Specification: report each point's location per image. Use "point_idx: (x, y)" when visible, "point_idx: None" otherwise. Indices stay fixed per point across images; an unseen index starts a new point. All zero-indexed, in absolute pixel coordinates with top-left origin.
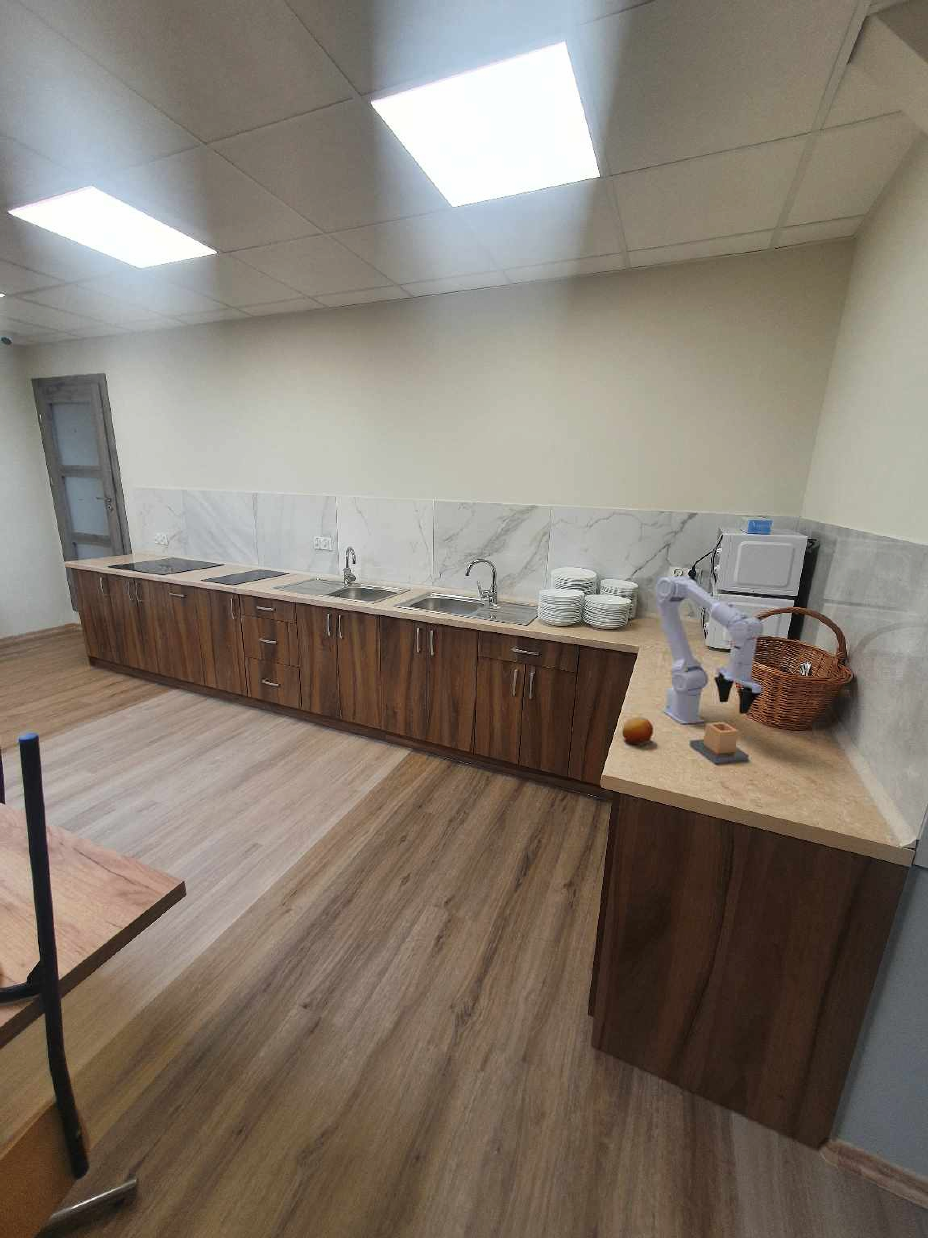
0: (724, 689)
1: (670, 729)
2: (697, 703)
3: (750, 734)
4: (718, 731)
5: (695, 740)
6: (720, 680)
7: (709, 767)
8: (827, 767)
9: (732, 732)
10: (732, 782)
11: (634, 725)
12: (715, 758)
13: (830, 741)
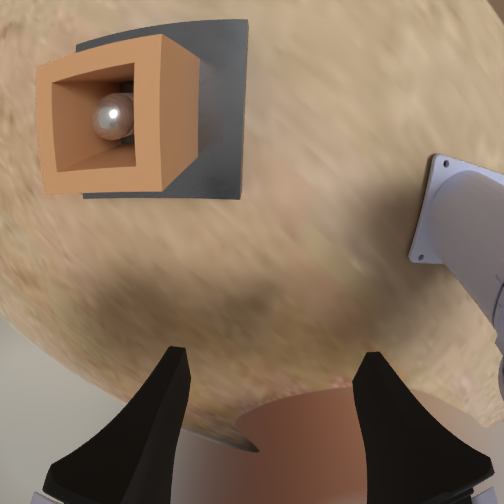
0: (389, 442)
1: (411, 68)
2: (470, 272)
3: (271, 339)
4: (52, 62)
5: (242, 43)
6: (436, 498)
7: (80, 19)
8: (86, 354)
9: (43, 152)
10: (12, 58)
11: None
12: (79, 44)
13: (199, 429)
